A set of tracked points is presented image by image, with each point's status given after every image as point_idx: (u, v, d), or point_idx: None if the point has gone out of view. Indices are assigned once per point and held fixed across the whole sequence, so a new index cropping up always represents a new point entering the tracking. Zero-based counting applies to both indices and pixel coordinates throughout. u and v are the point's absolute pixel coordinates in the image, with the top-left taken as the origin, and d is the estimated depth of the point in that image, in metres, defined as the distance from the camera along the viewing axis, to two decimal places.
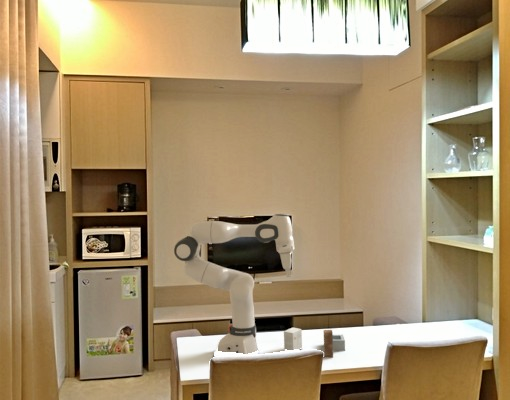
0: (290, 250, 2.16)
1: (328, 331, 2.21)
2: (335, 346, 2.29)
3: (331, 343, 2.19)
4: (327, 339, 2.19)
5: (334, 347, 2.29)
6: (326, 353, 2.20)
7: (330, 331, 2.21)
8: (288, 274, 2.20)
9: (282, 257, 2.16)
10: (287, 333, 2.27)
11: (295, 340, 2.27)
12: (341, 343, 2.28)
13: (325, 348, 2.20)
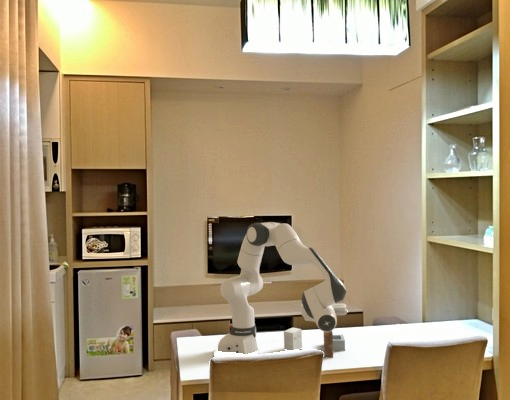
0: (304, 318, 1.99)
1: None
2: (335, 346, 2.29)
3: (331, 343, 2.19)
4: (327, 339, 2.19)
5: (334, 347, 2.29)
6: (326, 353, 2.20)
7: (330, 331, 2.21)
8: None
9: (301, 307, 2.02)
10: (287, 333, 2.27)
11: (295, 340, 2.27)
12: (341, 343, 2.28)
13: (325, 348, 2.20)
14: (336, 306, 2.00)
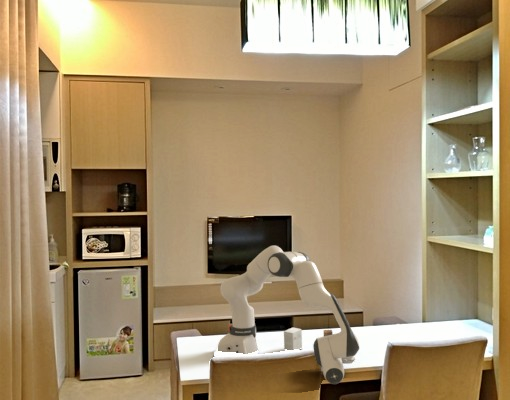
0: None
1: (328, 331, 2.21)
2: None
3: None
4: None
5: None
6: None
7: (330, 331, 2.21)
8: None
9: None
10: (287, 333, 2.27)
11: (295, 340, 2.27)
12: None
13: None
14: None
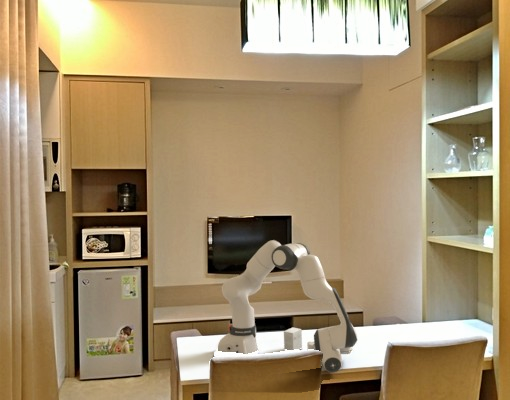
0: None
1: None
2: None
3: None
4: None
5: None
6: None
7: None
8: None
9: (308, 346, 2.13)
10: (287, 333, 2.27)
11: (295, 340, 2.27)
12: None
13: None
14: None
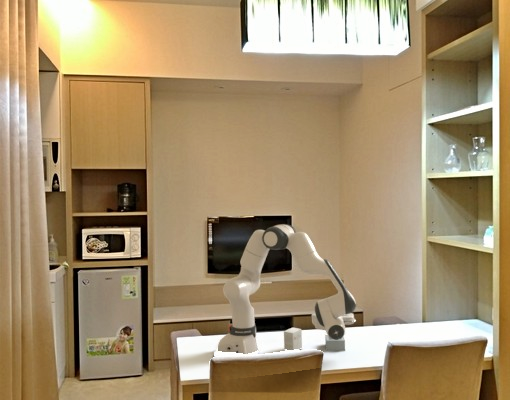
0: None
1: None
2: (335, 346, 2.29)
3: None
4: None
5: (334, 347, 2.29)
6: None
7: None
8: None
9: (313, 316, 2.20)
10: (287, 333, 2.27)
11: (295, 340, 2.27)
12: (341, 343, 2.28)
13: None
14: (344, 316, 2.18)
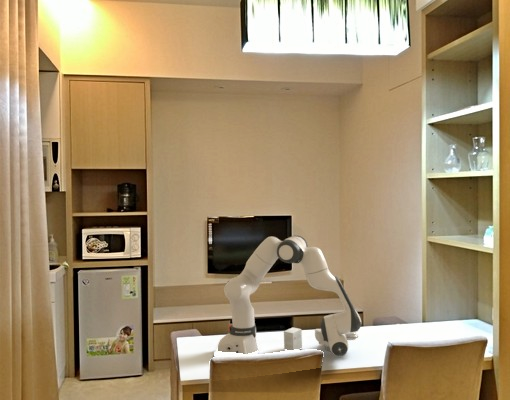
0: None
1: None
2: None
3: None
4: None
5: None
6: None
7: None
8: None
9: (316, 332, 2.25)
10: (287, 333, 2.27)
11: (295, 340, 2.27)
12: None
13: None
14: None
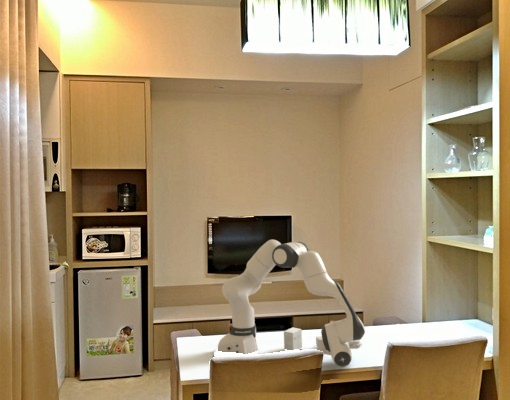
0: None
1: (335, 321, 2.33)
2: None
3: None
4: None
5: None
6: None
7: None
8: None
9: (317, 340, 2.12)
10: (287, 333, 2.27)
11: (295, 340, 2.27)
12: None
13: None
14: None
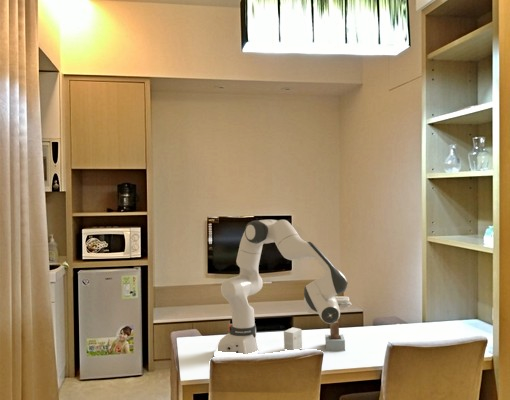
0: (308, 310, 2.01)
1: None
2: (335, 346, 2.29)
3: (337, 333, 2.31)
4: (333, 329, 2.31)
5: (334, 347, 2.29)
6: None
7: (336, 322, 2.32)
8: None
9: (305, 300, 2.04)
10: (287, 333, 2.27)
11: (295, 340, 2.27)
12: (341, 343, 2.28)
13: (332, 338, 2.31)
14: (339, 299, 2.02)
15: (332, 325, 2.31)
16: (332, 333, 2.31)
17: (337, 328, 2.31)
